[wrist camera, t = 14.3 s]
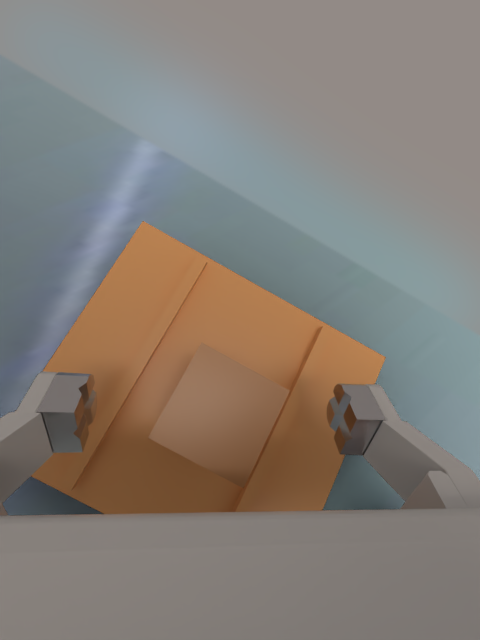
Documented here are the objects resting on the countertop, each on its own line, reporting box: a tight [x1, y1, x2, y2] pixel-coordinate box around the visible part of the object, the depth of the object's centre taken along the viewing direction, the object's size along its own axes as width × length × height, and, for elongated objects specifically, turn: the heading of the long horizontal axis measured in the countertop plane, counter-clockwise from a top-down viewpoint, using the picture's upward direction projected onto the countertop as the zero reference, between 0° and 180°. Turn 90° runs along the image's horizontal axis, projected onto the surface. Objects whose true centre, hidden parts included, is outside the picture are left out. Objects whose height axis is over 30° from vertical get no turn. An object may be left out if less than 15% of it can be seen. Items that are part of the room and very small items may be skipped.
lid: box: [15, 221, 386, 514], centre depth 14 cm, size 15×13×10 cm
